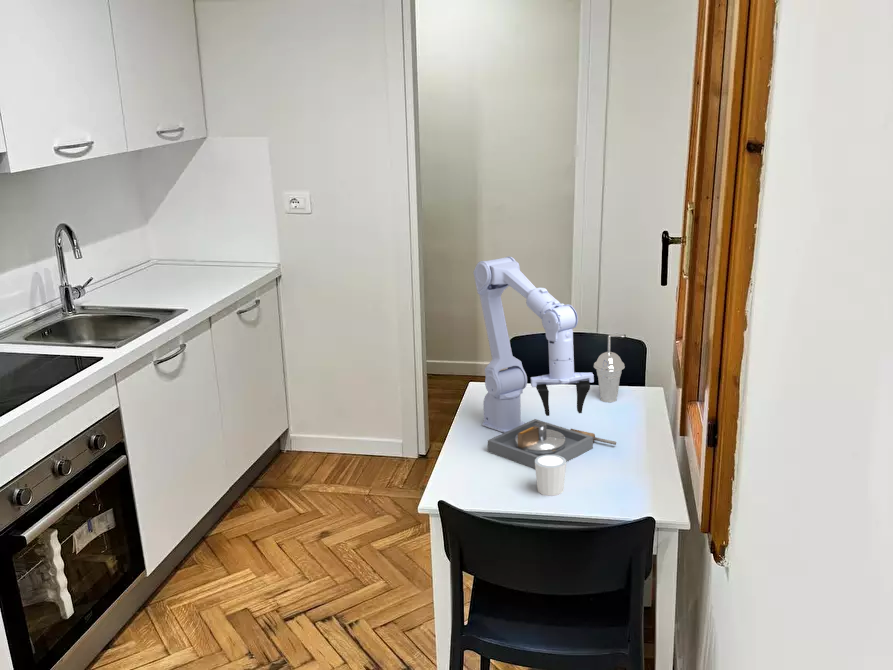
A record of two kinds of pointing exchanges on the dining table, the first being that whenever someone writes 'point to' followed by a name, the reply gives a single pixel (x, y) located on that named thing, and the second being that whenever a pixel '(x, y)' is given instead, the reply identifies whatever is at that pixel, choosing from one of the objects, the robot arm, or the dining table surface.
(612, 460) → the dining table surface
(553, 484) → the white fluted cup
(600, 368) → the cup with straw
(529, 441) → the dial
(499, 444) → the tray
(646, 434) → the dining table surface
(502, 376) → the robot arm
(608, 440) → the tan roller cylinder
